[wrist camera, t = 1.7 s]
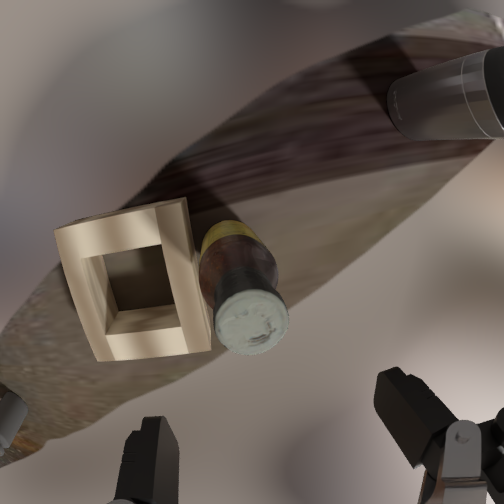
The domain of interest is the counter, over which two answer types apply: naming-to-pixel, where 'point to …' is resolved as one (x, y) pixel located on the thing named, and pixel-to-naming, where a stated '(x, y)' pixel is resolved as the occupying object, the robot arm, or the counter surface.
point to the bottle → (10, 418)
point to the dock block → (101, 295)
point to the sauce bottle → (241, 289)
